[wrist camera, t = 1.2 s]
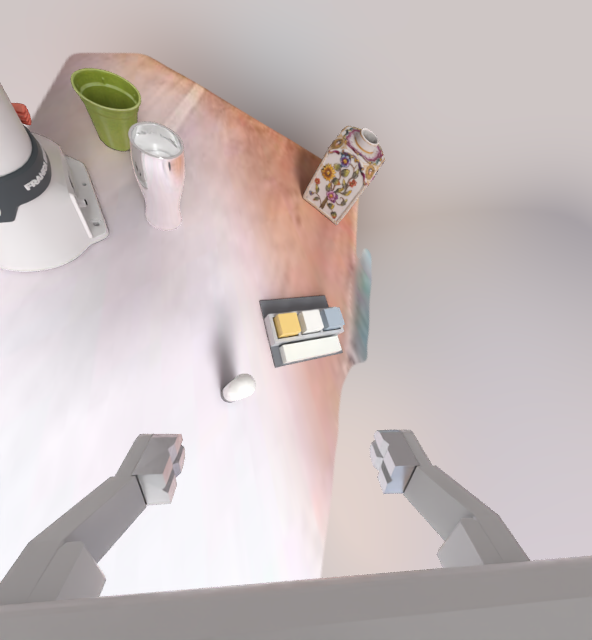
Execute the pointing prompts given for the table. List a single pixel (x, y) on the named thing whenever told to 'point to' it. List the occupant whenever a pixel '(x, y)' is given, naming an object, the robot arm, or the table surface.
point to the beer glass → (158, 172)
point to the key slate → (331, 319)
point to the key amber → (286, 325)
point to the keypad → (299, 345)
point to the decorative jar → (344, 172)
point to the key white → (310, 321)
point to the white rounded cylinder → (238, 388)
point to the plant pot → (108, 104)
